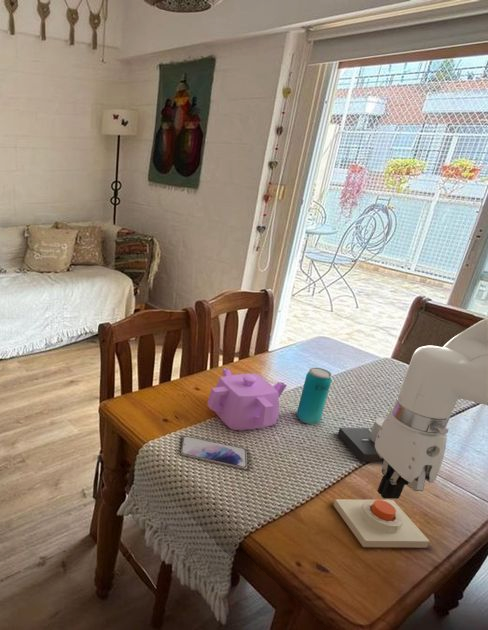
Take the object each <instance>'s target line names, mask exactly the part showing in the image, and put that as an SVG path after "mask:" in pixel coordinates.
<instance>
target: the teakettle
mask: <svg viewBox="0 0 488 630" xmlns="http://www.w3.org/2000/svg"><path fill="white" fill-rule="evenodd" d="M215 385H216V386H215V387H211V388H210V391H209V396H208V399H207V404H206V406H207V407H208V408H209V409H210V410H211V411H213V412H214V413H215V414H216V416H218V418H219V419H220V420H221V421H222V422H223V423H224V424H225V426H227V427H228V428H229V429H231V430H235V431H246V430H257V429H262V428H267V427H271V426H273V425H275V424H276V423H277V421H278V417H279V410H280V397H281V395H282V394H283V392H284V391H285V389H286V387H287V386H288V385H287V384H286V383H285V382H280V381H277V383H276V384H274V385H272V384H270V383H269V381H267V380H266V379H265V378H263V376H261V375H260V374H258V373H240V374H233V373H232V371H231V369H229V368H222V376H221V377H219V379H218V381H217V383H216V384H215Z"/></svg>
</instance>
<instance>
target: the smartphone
mask: <svg viewBox="0 0 488 630" xmlns="http://www.w3.org/2000/svg"><path fill="white" fill-rule="evenodd" d="M180 454H181V456H185V457H188V458H193V459H198V460H202V461H207V462H211V463H214V464H215V463H216V464H219V465H220V464H221V465H223V466H228V467H233V468H238V469H243V470H246V469H248V455H247V450H246V449H245V448H243V447H239V446H234V445H229V444H225V443H220V442H215V441H210V440H206V439H200V438H196V437H191V436H187V435H186V436H183V437H182V442H181V449H180Z"/></svg>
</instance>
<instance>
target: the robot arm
mask: <svg viewBox="0 0 488 630" xmlns="http://www.w3.org/2000/svg"><path fill="white" fill-rule="evenodd" d="M405 372H406V373H405V376H404V378H403V382H402V383H401V387H400V388H399V392H398V394H397V398H396V400H395V403H394V405H393V408H391V409H390V410H389V412H388V414H387V415H386V417H385V418H384V419H385V420H384V422H383V424H382V426H381V428H380V430H379V432H378V435H377V438H376V441H375V449H376V452H377V453H378V455H379V456H380V458H381V460H382V462H381V464H382V467H381V475H382V477H381V480H380V483H379V485H378V488H377V490H376V491H377V493H378V495H380V496H381V498H382V499H383V500H395V499H396V500H397V499H400V497H401V494H402V492H403V490H404V487H405V486H407V487H408V488H409V489H411V490H412V491H413V492H424V489H425V484H426V483H425V482H428V483H431V484H432V483H435V481H436V480H437V477H438V475H439V472H440V470H441V467H442V464H443V461H444V457H445V453H446V448H447V438H448V436H447V434H448V432H449V429H448V428H447V425H448V423H449V420H450V418H451V416H452V414H453V413H454V409H455V406H456V405H457V402H458V400H464V401H469V402H473V403H477V404H481V405H484V406H488V317H487V318H483V319H482V320H480V321H478V322H476V323H474V324H473V325H471V326H470V327H468V328H466V329H464V330H463V331H461V332H460V333H458V334H457V335H455V336H454V337H452V338H451V339H449V340H448V341H447V342H446V343H445V344H444V345H443V346H437V345H424V346H420V347H418V348H417V349H416V350H414V351H413V354H412V356H411V359H410V361H409V365H408V367H407V369H406V371H405Z"/></svg>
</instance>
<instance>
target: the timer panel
mask: <svg viewBox="0 0 488 630" xmlns="http://www.w3.org/2000/svg"><path fill="white" fill-rule="evenodd" d="M372 428H373V427H339V428H338V432H337V437H338V438H339V439H340V440H341V442H342V443H344V445H345V446H346V447H347V448H348V449H349V450H350V451H351V452H352V454H353V455H354V456H355V457H356V458H357V459H358V461H360V462H361V463H382V460H381V458H380V456H379V455H378V453H377V452H376V449H375V443H374V442H373V441H372V440H371V439H370V434H371V431H372Z"/></svg>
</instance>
